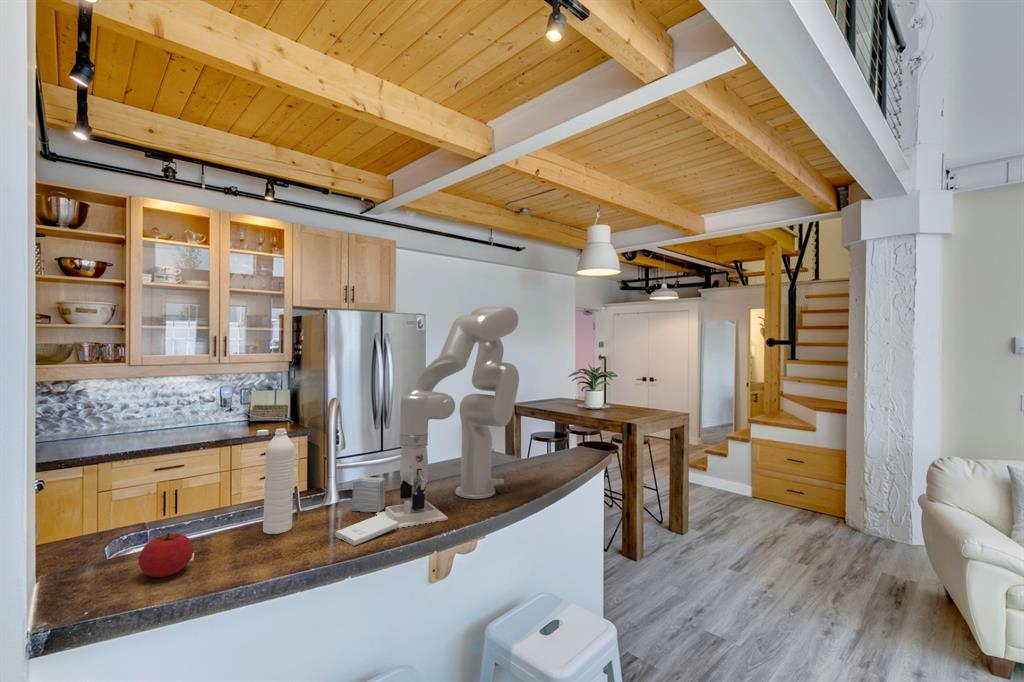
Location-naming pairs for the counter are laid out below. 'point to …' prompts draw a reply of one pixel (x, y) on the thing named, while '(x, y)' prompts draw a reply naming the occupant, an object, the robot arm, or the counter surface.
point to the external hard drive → (366, 529)
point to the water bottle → (278, 483)
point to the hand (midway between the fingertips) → (411, 503)
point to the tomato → (165, 555)
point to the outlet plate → (413, 515)
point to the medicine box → (368, 494)
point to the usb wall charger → (409, 509)
